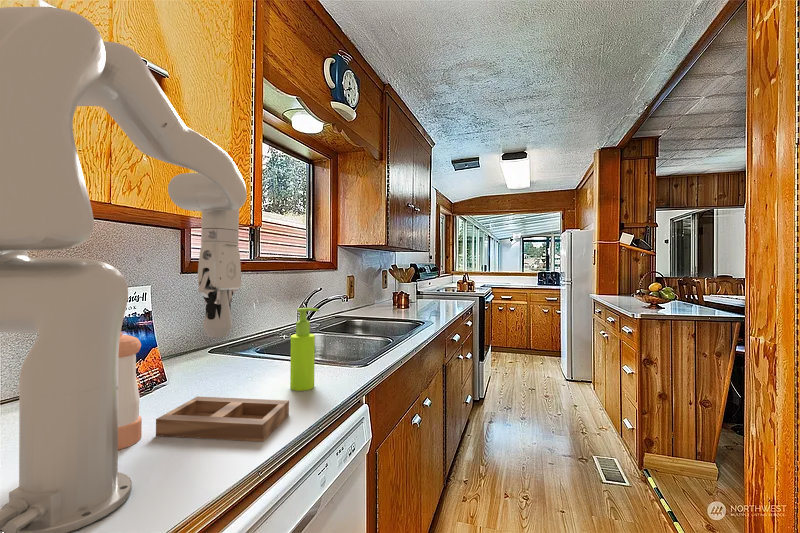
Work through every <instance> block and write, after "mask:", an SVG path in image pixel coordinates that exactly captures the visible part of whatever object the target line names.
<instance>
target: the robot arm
mask: <svg viewBox="0 0 800 533" xmlns="http://www.w3.org/2000/svg"><path fill="white" fill-rule="evenodd" d="M77 107H100V108H102V109H104V110H105V111H106V112H107V114H108V115H109V116H110V117H111V118H112V119H113V121H114V122H115V123H116V124H117V125H118V127H120V129H121V131H123V133H124V134H125V135H126V136H127V137H128V139H129V140H130V141H131V142H132V144H134V146H135V148H137V149H138V150H139V152H141V153H143V154H144V155H146V156H148V157H151V158H152V159H156V160H158V161H161V162H163V163H167V164H171V165H174V166H177V167H181V168H184V169H187V170H191V171H193V172H185V173H179V174H176V175H175V176H173V177H172V178H171V179H170V180H169V183H168V186H167V193H168V195H169V198H170V200H171V202H172V203H173V204H175V206H176V207H178V208H180V209H182V210H185V211H191V212H201V233H200V234H201V235H200V236H201V238H200V239H201V240H200V251H199V256H198V265H197V266H198V268H197V285H198V293H199V295H201V296H202V297H203V300H204V301H203V302H204V304H205V315H207V318H208V319H210V320H212V319H214V318H215V315H216V308H217V312H218V316H219V319H220V314H221V304H219V302H220V290H227V294H228V301H229V307H230V311H231V308H232V307H231V306H232V302H233V296H234V294H235V293H236V292H237V290H238V289H240V287H241V286H242V269H241V268H242V266H241V254H240V248H239V239H240V238H239V234H240V232H239V228H240V226H239V225H240V209H241V208H242V207H243V206H244V205H245V203H246V201H247V195H248V194H247V187H246V183H245V181H244V179H243V176H242V174H241V172H240V171H239V169H238V167H237V165H236V163H235V161H233V158H232V157H231V156H230V155H229V154H228V152H226V151H225V150H224V149H222V148H221V147H220V146H219V145H217V144H216V143H214V142H213V141H212V140H209V138H207V137H205V136H203V135H202V134H200V133H199V132H197V131H195V130H193V129H191V127H188V126H187V125H186V124H185V123H184V121H183V120H182V119H181V117H180V116H179V114H178V112H177V111H176V109H175V108H174V106H173V104H172V103H171V102H170V100H169V99H168V97H167V95H166V94H165V92H164V91H163V89H162V88H161V86H160V85H159V83H158V81H157V79H155V76H154V75H153V74H152V72H151V70H150V69H149V67H148V66H147V64H146V63H145V61H144V60H143V58H142V57H141V56H140V55H139V53H137V52H136V51H135V50H134V49H132V48H131V47H129V46H127V45H125V44H122V43H118V42H113V41H104V40H103V37H102V35H101V34H100V31H99V30H98V29H97V28H96V26H95V25H94V24H93V23H92V22H91V21H90V20H88V19H87V18H86V17H84V16H82V15H81V14H79V13H77V12H74V11H71V10H67V9H63V8H60V7H53V6H52V7H51V6H6V7H5V6H4V7H0V333H7V334H8V333H11V334H12V333H13V334H15V333H16V334H17V333H18V334H20V333H21V334H38V336H37V338H36V341H35V342H34V344H33V345H32V347H31V349H30V350H29V352H28V353H27V355H26V357H25V359H24V360H23V363H22V365H21V369H20V373H19V379H18V380H19V381H18V385H19V386H18V396H19V401H18V402H19V404H18V405H19V406H18V407H19V411H18V418H19V420H18V422H19V424H18V428H19V429H18V430H19V431H18V432H19V433H18V435H19V436H18V438H19V439H18V442H19V443H18V456H19V457H18V478H19V479H18V487H17V488H14V489H13V490H11V491H9V492H8V502H7V503H5V504H4V505H3V506H2V507H1V509H0V530H2V532H4V533H70V532H72V531H76V530H78V529H81V528H83V527H86V526H88V525H90V524H91V525H92V524H93V523H95V522H97V521H98V520H99V521H100V520H101V519H104V517H106V516H108V515H109V514H111V513H112V512H114V511H115V510H117V509H118V508H119V507H121V506H122V505H123V504H124V502H126V500H127V499H128V498H129V496H130V495H131V492H132V488H133V486H132V484H133V482H132V479H131V477H130V476H129V475H127V474H125V473H123V472H119V471H118V470H119V468H118V467H119V464H118V462H119V461H118V460H119V456H118V455H119V450H118V355H119V340H120V333H121V332H122V329H123V328H122V326H123V322H124V318H125V314H126V311H127V310H126V309H127V305H128V302H129V301H128V300H129V286H128V283H127V280H126V279H125V277H124V275H123V274H122V272H120V270H119V269H118V268H116V267H115V266H113V265H111V264H109V263H107V262H104V261H101V260H96V259H93V258H85V257H84V258H81V257H29V253H28V251H58V250H59V251H60V250H67V249H71V248H76V247H78V246H80V245H82V244H84V243H86V242H87V241H88V240H89V239H90V237H91V236H92V234H93V233H94V227H95V221H94V220H95V219H94V214H93V208H92V204H91V201H90V197H89V193H88V188H87V185H86V184H87V183H86V181H85V177H84V174H83V171H82V165H81V162H80V158H79V154H78V150H77V146H76V142H75V141H76V140H75V137H74V116H75V113H76V110H77ZM210 286H213V287H216V289H212V288H210ZM213 292H214V293H215V296H214V294H213Z"/></svg>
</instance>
